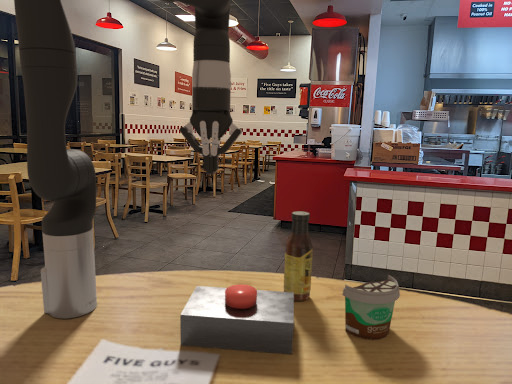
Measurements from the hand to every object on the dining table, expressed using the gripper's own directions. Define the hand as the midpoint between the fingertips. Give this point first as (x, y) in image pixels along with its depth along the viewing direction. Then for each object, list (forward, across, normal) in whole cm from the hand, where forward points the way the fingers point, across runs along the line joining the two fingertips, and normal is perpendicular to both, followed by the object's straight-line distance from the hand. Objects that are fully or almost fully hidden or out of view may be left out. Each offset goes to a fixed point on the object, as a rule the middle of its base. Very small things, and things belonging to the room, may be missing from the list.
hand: (210, 173), depth 80 cm
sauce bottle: (+29, +19, +7) cm, 36 cm away
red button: (+28, +8, -10) cm, 30 cm away
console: (+29, +8, -10) cm, 32 cm away
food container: (+29, +34, -7) cm, 45 cm away
